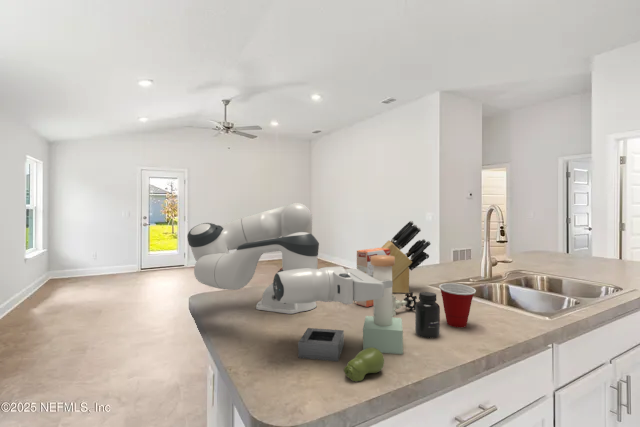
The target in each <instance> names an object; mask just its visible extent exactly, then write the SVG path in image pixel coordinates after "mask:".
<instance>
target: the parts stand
mask: <svg viewBox="0 0 640 427" xmlns="http://www.w3.org/2000/svg"><path fill="white" fill-rule="evenodd" d="M403 330H404V329H403V320H402V317H394V316H392V325H390V326H378V325H376V324H374V315H365V319H364V322H363V327H362V343H363V344H362V347H363V348H362V350H364V349H367V348H376V349H378V350H379V351H380V352H381V353H382V354H393V355H394V354H396V355H404V351H403V350H404V347H403V346H404V342H403V341H404V336H403V333H404V332H403Z"/></svg>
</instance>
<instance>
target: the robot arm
mask: <svg viewBox="0 0 640 427" xmlns="http://www.w3.org/2000/svg"><path fill="white" fill-rule="evenodd" d="M187 242H188V246H189V247H190V249H191V252H192V255H193V257H194V260H195V264H194V268H193V269H194V270H193V274H194V278H195V279H196V280H197V281H198V282H199V283H200V284H203V285H206V286H208V287H212V288H215V289H220V290H221V289H222V290H226V291H227V290H231V291H235V290H236V291H237V290H240V289H242V288H244V287H246V286H247V285H248V284H249V283H250V282H251V281H252V279H253V278H254V275H255V273H256V270H257V266H258V263H259V261H260V259H261V257H262V255H264V254H268V253H273V252H274V253H275V252H281V262H282V266H281V268H280V269H279V270H277V272H276V273H275V275H274V277H273V280H272V283H271V284H269V285H268V286H267V287H266V288H265V289H264V290H263V292H262V298H261V300H259V301H258V302H257V303H256V305H255V309H256V310H258V311H259V310H260V311H266V312H267V311H268V312H272V313H273V312H274V313H281V314H289V315H290V314H292V315H293V314H297V313H299V312H300V313H301V312H305V311H306V312H307V311H310V310H311V311H312V310H314V309H315V308H316V307H317V302H325V303H328V302H330V303H331V302H333V303H334V302H335V303H341V304H344V305H352V304H353V303H354V302H357V301H367V300H374V299H380V298H382V297H383V296H384V289H385V288H391V287H392V286H393V282H392V281H391V280H384V281H379V280H377V279H375V278H373V274H366V273H364V272H362V271H360V270H358V269H357V268H348V269H347V268H346V269H345V268H344V267H343V266H325V267H321V268H318V266H319V265H318V260H319V258H318V256H319V250H320V249H319V248H320V247H319V246H320V243H319V240H317V238H316V237H315V236H314V235H313V214H312V211H311V210H310V208H309V207H308V206H307V205H305V204H304V203H300V202H294V203H293V202H292V203H290V204H287V205H283V206H279V207H275V208H272V209H269V210H265V211H261V212H258V213H253V214H250V215H247V216H242V217H240V218H236V219H234V220H233V219H232V220H231V221H228V222H226V223H224V224H222V225H219V224H215V223H212V222H211V223H210V222H204V223H199V224H197V225H195V226H193V227H192V228H190V230H189V231H188V233H187ZM234 250H235V251H234ZM229 251H234V252H231V253H230V252H229Z"/></svg>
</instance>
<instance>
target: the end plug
mask: <svg viewBox="0 0 640 427" xmlns="http://www.w3.org/2000/svg"><path fill="white" fill-rule="evenodd" d="M371 265H373V278H375V279H377V280H379V281H384V280H391V281H392V266H393V265H395V257H394V256H389V255H374V256H371ZM392 295H393V293H392V287H391V288H385V289H384V296H383V297H382V298H380V299H374V305H373V316H374V324H376V325H378V326H390V325H392V317H393V316H392Z"/></svg>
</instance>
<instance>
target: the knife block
mask: <svg viewBox="0 0 640 427" xmlns="http://www.w3.org/2000/svg"><path fill="white" fill-rule="evenodd" d="M421 231H422V230H421V227H418V226H417V224H415V223H414V221H413V220H410V221H408V222H407V223H406V224H405V225H404V226H403V227H402V228H401V229H400V230H399V231H398V232H397V233H396V234H395V235H394V236H393V237H392V238H391V239H390V240H387V241H386V242H385V243H384V244H383V245H382V246H381V247H380V248H388V249H390V256H394V257H395V265H393V266H392V282H393V286H392V294H394V293H398V294H401V293H402V294H407V293H408V294H409V293H410V271H411V272H412V271H413V270H414V269H416V268H418V266H419V265H421V264H422V263H423V262H424V261H426V260H427V259H429V257H430V255H429V254H428V253H426V252H425V250H427V248H428V247H429V246H430V245H431V241H429V240H427V241H426V239H424V238H423V239H418V240H417V241H416V242H415V243H413V245H411V247H410V248H409V249H408V252H406V253H404V252H403V251H402V250H403V248H405V247H406V246H407V245H408V244H409V243H410V242H411V241H412V240H414V238H415V237H416V236H417V235H418V234H419V233H420V232H421Z"/></svg>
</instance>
